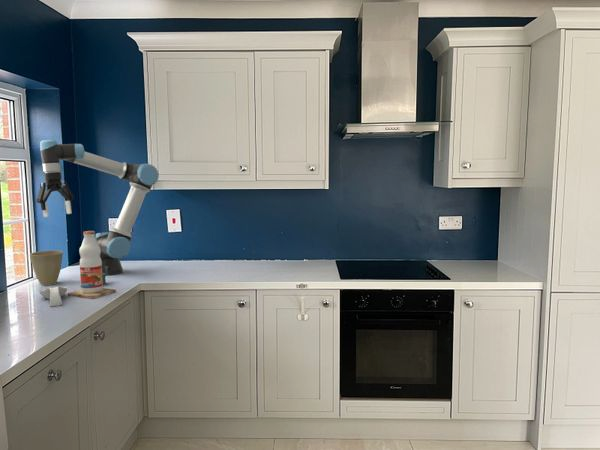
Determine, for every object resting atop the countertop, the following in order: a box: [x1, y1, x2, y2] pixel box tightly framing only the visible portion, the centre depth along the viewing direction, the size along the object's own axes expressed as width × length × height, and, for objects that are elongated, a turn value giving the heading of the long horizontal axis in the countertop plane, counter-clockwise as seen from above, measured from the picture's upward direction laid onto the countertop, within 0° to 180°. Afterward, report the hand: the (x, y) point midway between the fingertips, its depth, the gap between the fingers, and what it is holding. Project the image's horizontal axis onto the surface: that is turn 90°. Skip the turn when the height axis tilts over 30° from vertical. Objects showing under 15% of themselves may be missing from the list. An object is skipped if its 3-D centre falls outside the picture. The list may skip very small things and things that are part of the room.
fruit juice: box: [78, 230, 104, 293], centre depth 223 cm, size 9×9×28 cm
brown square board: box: [67, 287, 117, 300], centre depth 224 cm, size 14×15×1 cm
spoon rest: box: [38, 285, 69, 308], centre depth 214 cm, size 24×12×7 cm, turn 30°
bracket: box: [102, 266, 109, 286], centre depth 242 cm, size 9×9×9 cm
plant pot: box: [29, 250, 64, 286], centre depth 245 cm, size 15×15×16 cm
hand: (58, 215), depth 238 cm, fingers open, 13 cm apart
